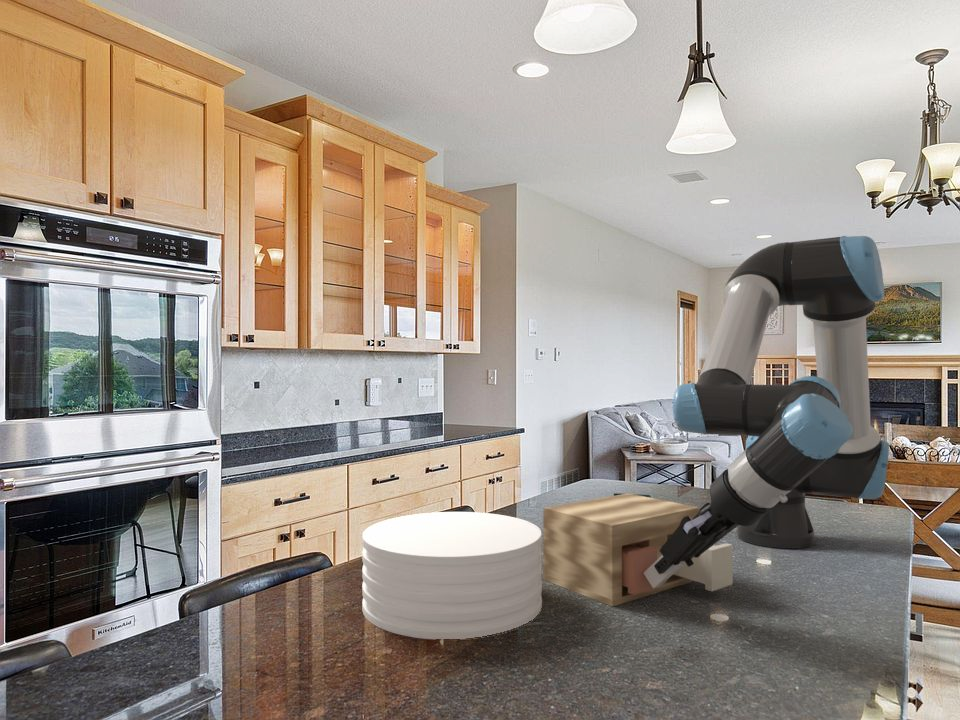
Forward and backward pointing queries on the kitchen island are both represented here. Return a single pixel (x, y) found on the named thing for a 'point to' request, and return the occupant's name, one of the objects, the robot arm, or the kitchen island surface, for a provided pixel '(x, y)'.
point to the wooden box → (606, 542)
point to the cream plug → (710, 567)
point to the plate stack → (451, 574)
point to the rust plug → (637, 567)
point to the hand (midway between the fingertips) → (651, 579)
